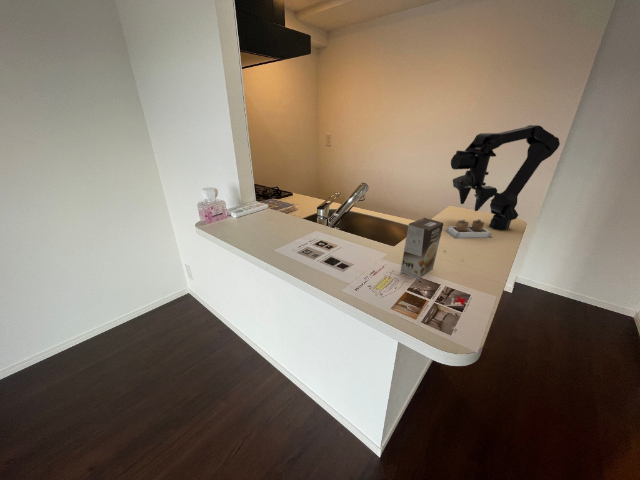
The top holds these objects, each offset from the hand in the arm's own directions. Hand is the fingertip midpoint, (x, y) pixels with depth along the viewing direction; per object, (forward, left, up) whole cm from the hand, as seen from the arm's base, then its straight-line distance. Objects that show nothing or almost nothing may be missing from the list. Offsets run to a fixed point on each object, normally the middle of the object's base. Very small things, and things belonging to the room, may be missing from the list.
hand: (468, 207), depth 106 cm
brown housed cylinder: (-2, +5, -10) cm, 11 cm away
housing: (+1, +5, -11) cm, 12 cm away
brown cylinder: (+4, +5, -10) cm, 12 cm away
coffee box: (+33, +30, -11) cm, 46 cm away
